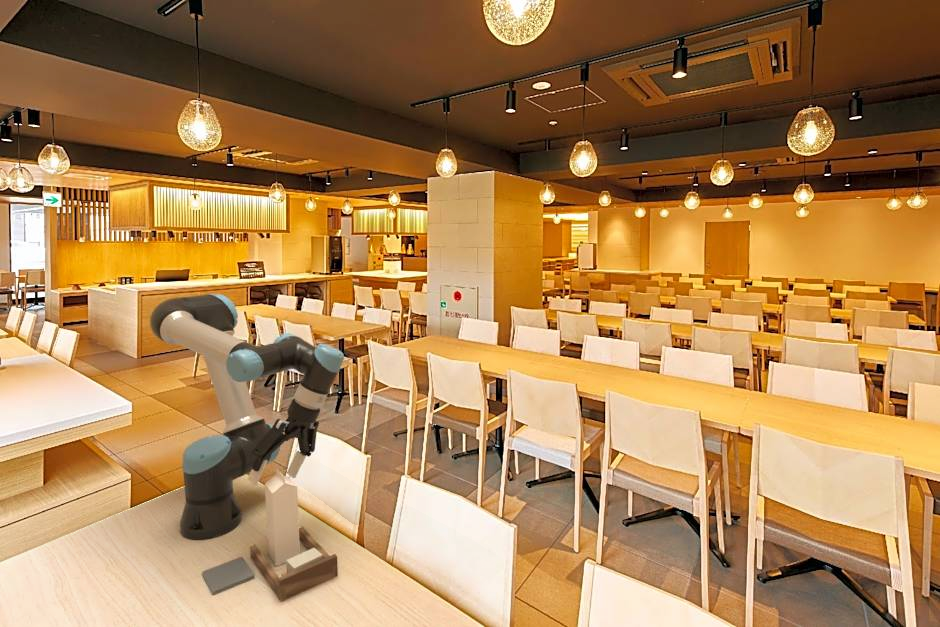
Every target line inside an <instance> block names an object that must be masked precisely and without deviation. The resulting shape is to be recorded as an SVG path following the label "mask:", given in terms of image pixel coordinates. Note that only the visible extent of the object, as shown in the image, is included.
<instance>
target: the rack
mask: <svg viewBox="0 0 940 627" xmlns="http://www.w3.org/2000/svg"><path fill="white" fill-rule="evenodd" d="M299 542H301V544H303V546H304V547H305V548H306V549H307V551H308V550H310V549H312V548H315V549H317V550H318V551H319V552H320V553H321V554H322V555H323V559H321V560H319V561H317V562H314V563H312V564H310V565H307V566H305V567H303V568H300V569H298V570H295V571H293V572H291V573H288V574H286V575H284V576H282V575H281V576H279V575H278V574H277V572H276V571H275V570H274V568H273V567H272V566H271V564H270V563H269V561H268V559H266V558H265V556H264V555H263V553H262V552H261V551H260V549H259V548H258V547H257V545H256V544H252V545H250V547H249V550H250V551H249V552H250V559H251V560H252V561H253V563H254V565H255V566H256V567H257V569H258V570H259V572H260V574H261V575H262V576H263V578H264V579H265V581H266V582H267V584H268V585H269V586H270V588H271V589H272V591H273V592H274V593H275V595H276V597H277V598H278V599H279V601H280V602H283V601H285V600H288V599H290V598H292V597H294V596H296V595H298V594H301V593H303V592H306V591H307V590H309V589H312V588H314V587H315V586H319V585H320V584H322V583H325V582H328V581H329V580H332V579H334V578H336V577H338V576H339V574H338V570H339V569H338V568H339V567H338V556H337V554H336V553H333V554H331V555H329V553H328V552H327V551H326V549H324V547H322V546H321V545H320V544H319V543H318V542H317V541H316V540H315V538H313V536H312V535H311V534H310V533H309V532H308V530H306V529H305V528H304V526H301V527H299Z"/></svg>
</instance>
